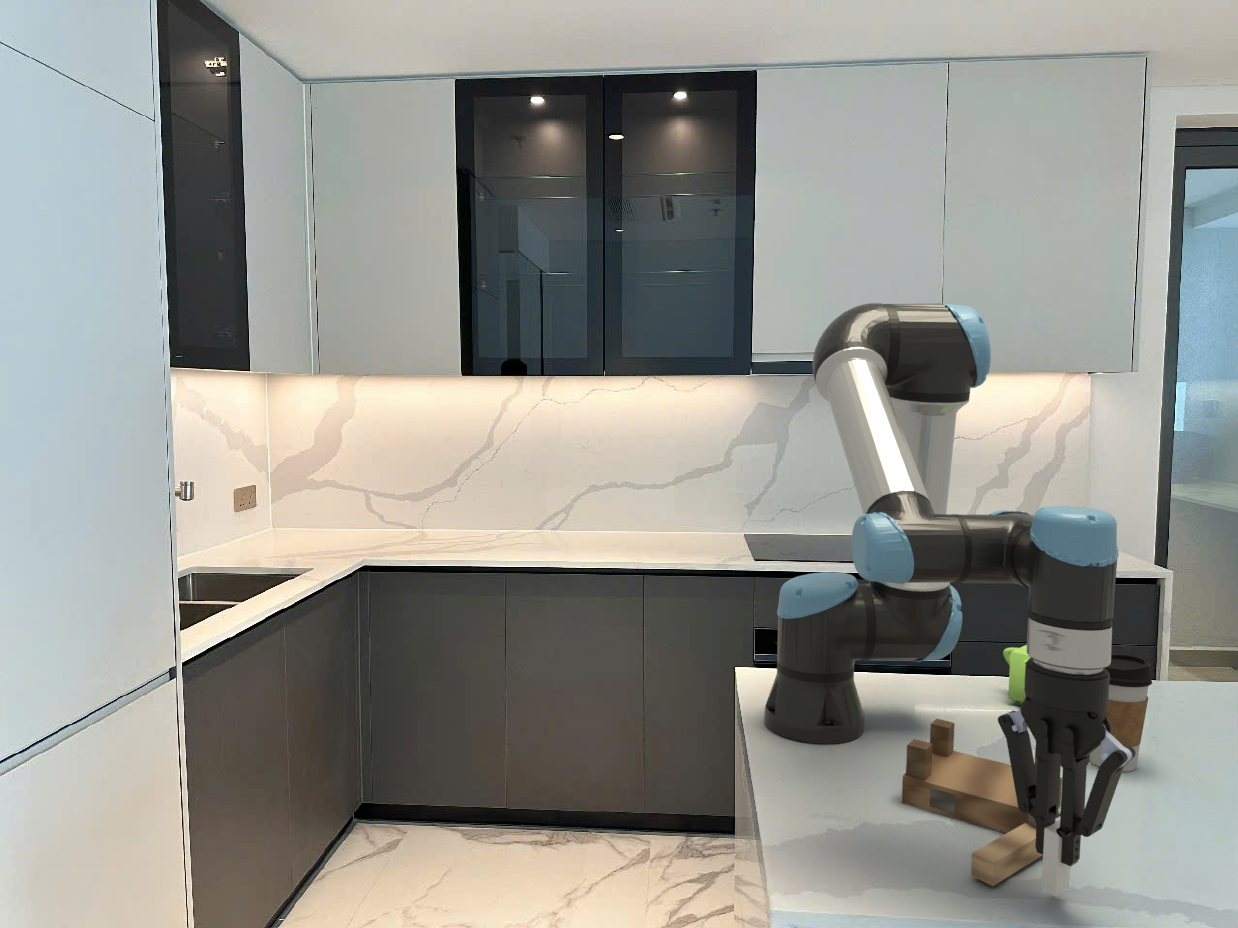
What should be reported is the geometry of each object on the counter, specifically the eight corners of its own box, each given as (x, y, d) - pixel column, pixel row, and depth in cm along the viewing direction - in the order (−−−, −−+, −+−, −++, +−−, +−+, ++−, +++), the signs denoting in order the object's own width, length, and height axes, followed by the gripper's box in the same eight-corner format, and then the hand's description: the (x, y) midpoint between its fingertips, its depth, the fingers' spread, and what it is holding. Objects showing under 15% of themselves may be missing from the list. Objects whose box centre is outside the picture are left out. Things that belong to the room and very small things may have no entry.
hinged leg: (1034, 836, 102) (1036, 799, 102) (1058, 846, 100) (1060, 808, 100) (969, 874, 94) (971, 834, 94) (994, 886, 92) (996, 845, 92)
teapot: (1070, 691, 155) (1074, 631, 154) (1115, 719, 141) (1119, 654, 140) (984, 691, 154) (987, 631, 153) (1021, 719, 141) (1025, 654, 140)
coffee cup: (1157, 778, 119) (1163, 670, 118) (1089, 772, 121) (1095, 665, 120) (1134, 753, 128) (1140, 652, 126) (1070, 748, 129) (1076, 648, 128)
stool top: (890, 813, 109) (892, 754, 108) (932, 770, 121) (934, 717, 121) (1056, 863, 97) (1060, 798, 97) (1084, 810, 110) (1087, 752, 109)
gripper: (985, 653, 91) (975, 872, 93) (1118, 687, 81) (1104, 933, 83) (1024, 641, 96) (1013, 850, 98) (1154, 672, 85) (1140, 906, 87)
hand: (1055, 888), depth 90 cm, fingers closed
